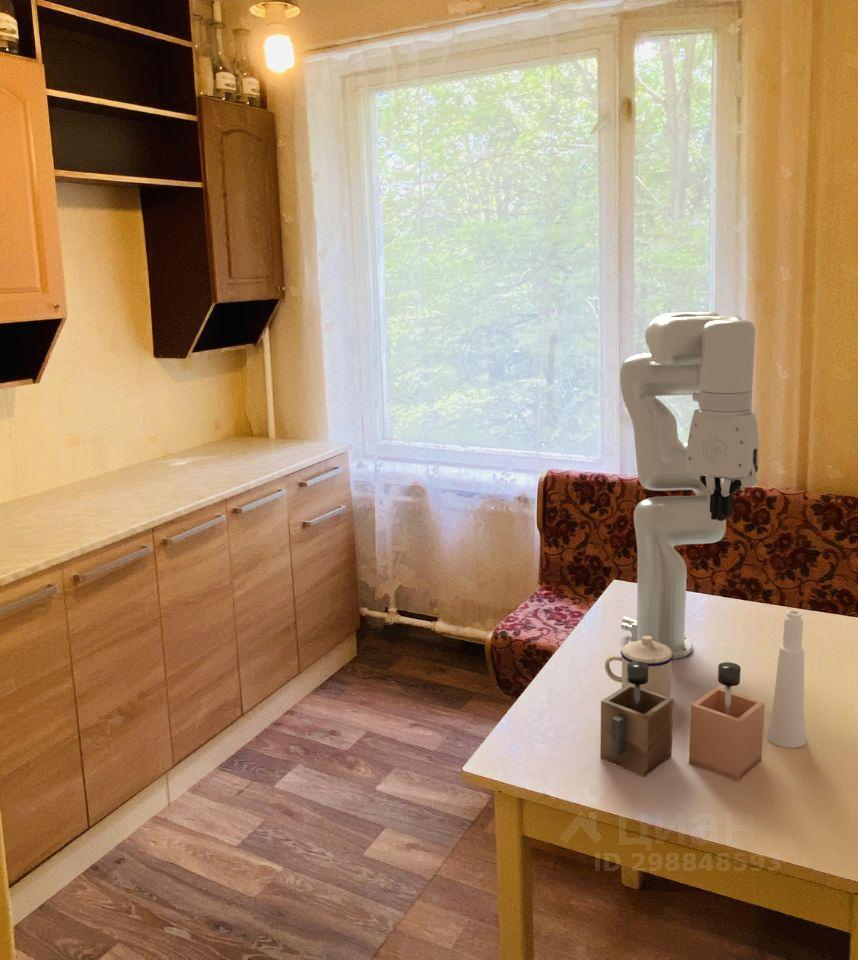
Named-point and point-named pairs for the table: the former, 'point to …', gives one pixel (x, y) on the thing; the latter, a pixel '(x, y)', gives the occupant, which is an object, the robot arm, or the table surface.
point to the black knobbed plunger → (728, 681)
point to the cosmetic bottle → (789, 687)
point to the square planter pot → (726, 734)
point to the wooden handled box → (636, 730)
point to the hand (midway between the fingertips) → (720, 518)
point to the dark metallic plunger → (637, 679)
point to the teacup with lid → (650, 654)
